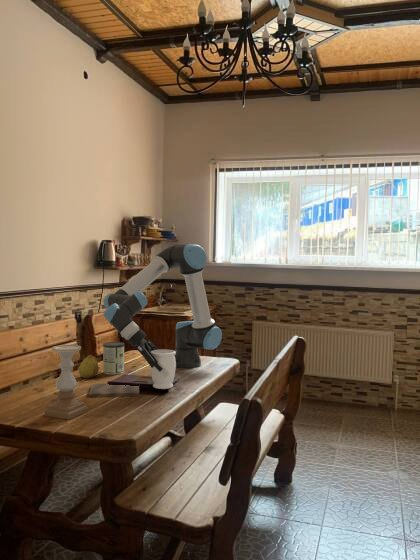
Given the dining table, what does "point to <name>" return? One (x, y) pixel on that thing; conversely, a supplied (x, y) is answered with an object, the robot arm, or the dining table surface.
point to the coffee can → (113, 358)
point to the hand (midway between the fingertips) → (170, 372)
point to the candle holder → (66, 387)
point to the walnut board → (113, 390)
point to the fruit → (88, 367)
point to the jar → (168, 363)
